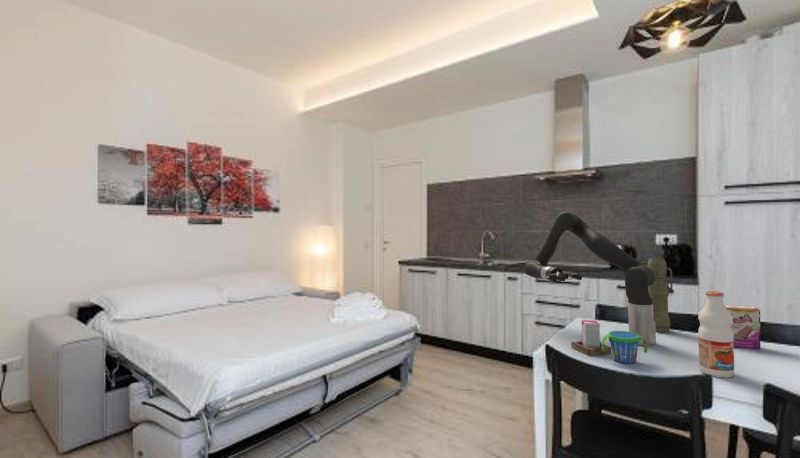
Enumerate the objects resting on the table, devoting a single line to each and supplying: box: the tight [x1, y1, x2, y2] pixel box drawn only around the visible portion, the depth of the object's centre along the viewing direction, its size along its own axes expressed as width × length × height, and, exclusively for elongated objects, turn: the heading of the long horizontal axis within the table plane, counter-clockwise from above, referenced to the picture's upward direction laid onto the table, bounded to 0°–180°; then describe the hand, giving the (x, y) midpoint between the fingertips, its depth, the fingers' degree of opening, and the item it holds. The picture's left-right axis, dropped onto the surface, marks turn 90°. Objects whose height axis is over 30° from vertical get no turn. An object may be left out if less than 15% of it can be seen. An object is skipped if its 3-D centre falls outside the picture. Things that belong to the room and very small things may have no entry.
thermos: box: [647, 257, 673, 334], centre depth 184 cm, size 9×12×35 cm
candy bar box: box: [724, 304, 761, 350], centre depth 158 cm, size 11×5×16 cm, turn 65°
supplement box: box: [581, 319, 601, 348], centre depth 160 cm, size 6×6×12 cm
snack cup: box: [600, 330, 649, 364], centre depth 147 cm, size 16×10×10 cm
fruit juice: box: [697, 290, 735, 379], centre depth 133 cm, size 9×9×28 cm
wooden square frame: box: [570, 340, 612, 357], centre depth 160 cm, size 11×11×2 cm
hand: (572, 278), depth 174 cm, fingers open, 8 cm apart
